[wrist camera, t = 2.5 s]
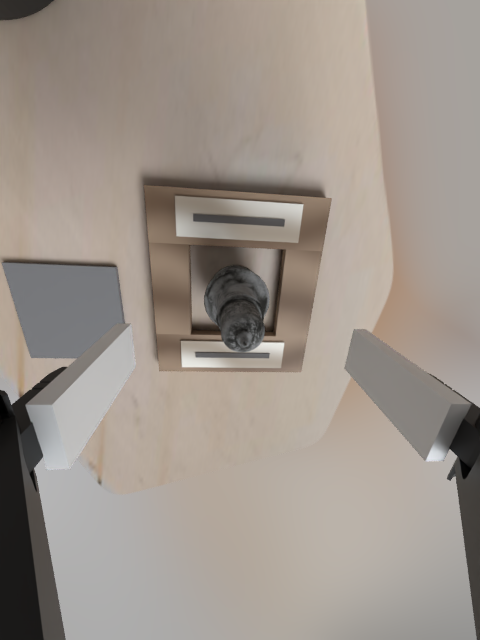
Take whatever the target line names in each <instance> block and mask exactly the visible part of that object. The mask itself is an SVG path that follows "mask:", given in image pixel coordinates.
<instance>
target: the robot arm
mask: <svg viewBox="0 0 480 640" xmlns="http://www.w3.org/2000/svg"><path fill="white" fill-rule="evenodd" d="M52 1H53V0H0V20H11V19H18V18H22V17H26V16H28V15H31V14H34V13H36V12H38V11H40V10H41V9H43V8H44V7H46V6H47V5H48V4H50V3H51V2H52ZM135 367H136V362H135V353H134V345H133V336H132V328H131V324H120V323H117V324H116V325H115V326H114V327H112V328H111V329H110V330H109V331H108V332H107V333H106V334H104V335H103V336H102V337H101V338H100V339H99V340H98V341H97V342H95V343H94V344H93V345H92V346H91V347H90V348H89V349H88V350H86V351H85V352H84V353H83V354H82V355H81V356H80V357H79V358H77V359H76V360H75V361H74V362H73V363H72V364H71V365H70V366H68V367H61V368H59V369H57V370H55V371H53V372H52V373H50V374H48V375H47V376H46V377H45V378H44V379H42V380H41V381H40V383H37V384H36V385H35V386H34V387H33V388H32V390H29V391H28V392H27V393H25V394H24V395H23V396H22V397H21V398H19V399H18V400H17V401H16V402H15V403H13V404H12V405H11V403H10V400H9V397H8V395H7V393H6V392H5V391H1V390H0V640H65V633H64V628H63V622H62V617H61V612H60V605H59V600H58V594H57V589H56V583H55V578H54V572H53V566H52V562H51V555H50V550H49V544H48V539H47V533H46V528H45V522H44V517H43V511H42V505H41V500H40V494H39V488H38V483H37V477H36V473H35V471H34V467H35V466H36V465H37V464H38V462H39V461H40V460H41V459H42V457H43V460H44V463H45V466H46V469H47V470H64V469H71V467H72V466H73V464H74V463H75V461H76V459H77V458H78V456H79V455H80V453H81V452H82V450H83V448H84V447H85V445H86V444H87V442H88V441H89V439H90V437H91V436H92V434H93V433H94V431H95V430H96V428H97V427H98V425H99V423H100V422H101V420H102V419H103V417H104V416H105V414H106V412H107V411H108V409H109V408H110V406H111V405H112V403H113V401H114V400H115V398H116V397H117V395H118V394H119V392H120V390H121V389H122V387H123V386H124V384H125V383H126V381H127V379H128V378H129V376H130V375H131V373H132V372H133V370H134V368H135ZM345 370H346V371H347V372H348V373H349V374H350V375H351V376H352V378H353V379H354V380H355V381H356V382H357V383H358V384H359V386H360V387H361V388H362V389H363V390H364V391H365V392H366V394H367V395H368V396H369V397H370V398H371V399H372V401H373V402H374V403H375V404H376V405H377V406H378V407H379V409H380V410H381V411H382V412H383V413H384V414H385V415H386V417H387V418H388V419H389V420H390V421H391V422H392V424H393V425H394V426H395V427H396V428H397V429H398V430H399V432H400V433H401V434H402V435H403V436H404V437H405V438H406V440H407V441H408V442H409V443H410V444H411V445H412V447H413V448H414V449H415V450H416V451H417V452H418V453H419V455H420V456H421V457H422V458H423V459H424V460H425V461H444V459H445V457H446V455H447V453H448V451H449V449H451V450H452V451H453V452H454V453H455V454H456V455H457V456H458V457H457V459H456V461H455V463H454V465H453V467H452V469H451V470H450V473H449V474H448V477H447V479H448V480H451V479H452V477H454V476H456V483H457V490H458V497H459V505H460V513H461V520H462V527H463V536H464V543H465V551H466V558H467V565H468V574H469V581H470V589H471V597H472V605H473V613H474V620H475V628H476V636H477V640H480V408H479V407H478V406H476V405H475V404H473V403H472V402H470V401H469V400H467V399H466V398H465V397H463V396H462V395H460V394H459V393H457V392H456V391H454V390H452V388H450V387H449V386H447V385H446V384H444V383H443V382H442V381H440V380H439V379H437V378H436V377H434V376H432V375H431V374H429V373H427V372H425V371H424V370H422V369H421V368H420V367H418V366H417V365H415V364H414V363H412V362H411V361H410V360H408V359H407V358H405V357H404V356H403V355H401V354H400V353H398V352H397V351H396V350H394V349H393V348H391V347H390V346H389V345H387V344H386V343H384V342H383V341H381V340H380V339H379V338H377V337H376V336H374V335H373V334H371V333H370V332H369V331H367V330H364V329H354V331H353V335H352V339H351V343H350V347H349V352H348V356H347V360H346V364H345Z"/></svg>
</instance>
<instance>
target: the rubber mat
mask: <svg viewBox="0 0 480 640" xmlns="http://www.w3.org/2000/svg"><path fill="white" fill-rule="evenodd" d="M2 265H3V269H4V272H5V275H6V278H7V281H8V285H9V288H10V291H11V294H12V298H13V301H14V304H15V307H16V311H17V314H18V317H19V320H20V324H21V327H22V330H23V333H24V336H25V340H26V343H27V346H28V349H29V353H30V356H31V358H79V357H80V356H81V355H82V354H83V353H84V352H85V351H86V350H88V349H89V348H90V347H91V346H92V345H93V344H94V343H95V342H97V341H98V340H99V339H100V338H101V337H102V336H103V335H104V334H106V333H107V332H108V331H109V330H110V329H111V328H112V327H114V326H115V325H116V324H117V323H120V324H125V321H124V314H123V307H122V299H121V292H120V284H119V277H118V269H117V267H110V266H86V265H63V264H39V263H16V262H3V263H2Z"/></svg>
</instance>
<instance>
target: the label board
mask: <svg viewBox="0 0 480 640" xmlns="http://www.w3.org/2000/svg"><path fill="white" fill-rule="evenodd" d="M144 193H145V205H146V217H147V229H148V241H149V253H150V265H151V277H152V289H153V301H154V313H155V325H156V337H157V349H158V361H159V371H214V372H301V370H302V364H303V359H304V353H305V347H306V342H307V336H308V330H309V325H310V319H311V313H312V308H313V302H314V296H315V290H316V285H317V279H318V273H319V268H320V262H321V256H322V251H323V245H324V239H325V234H326V228H327V222H328V217H329V211H330V205H331V200H332V198H321V197H307V196H293V195H279V194H264V193H250V192H236V191H222V190H208V189H194V188H179V187H165V186H151V185H144ZM190 245H209V246H228V247H248V248H267V249H283V254H282V262H281V271H280V279H279V288H278V296H277V305H276V314H275V322H274V331H273V332H265V334H264V338H263V341H262V342H261V344H260V345H259V346H258V347H257V348H255V349H254V350H251V351H249V352H236V351H233V350H231V349H229V348H228V347H227V346H226V345H225V344H224V342H223V340H222V338H221V331H216V330H192V306H191V259H190Z"/></svg>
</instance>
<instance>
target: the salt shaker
mask: <svg viewBox="0 0 480 640" xmlns="http://www.w3.org/2000/svg"><path fill="white" fill-rule="evenodd" d="M204 305H205V308H206V312H207V314H208V315H209V317H210V319H211V320H212V321H213V322H214V323H215V324H216V325H218V327H219V328H220V330H221V338H222V340H223V342H224V344H225V345H226V346H227V347H228V348H229V349H231V350H233V351H236V352H249V351H251V350H254V349H255V348H257V347H258V346H259V345H260V344H261V342H262V341H263V338H264V334H265V327H264V323H263V319H264V316H265V314H266V312H267V310H268V307H269V292H268V289H267V287H266V285H265V283H264V282H263V280H262V279H261V278H260V277H259V276H258V275H256V274H255V273H253V272H252V271H250V270H249V269H248V268H245V267H242V266H235V265H233V266H228V267H225V268H223V269H221V270H220V271H219V272H218V273H216V274H215V276H214V277H213V279H212V280H211V282H210V283H209V285H208V286H207V289H206V292H205V295H204Z"/></svg>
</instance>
